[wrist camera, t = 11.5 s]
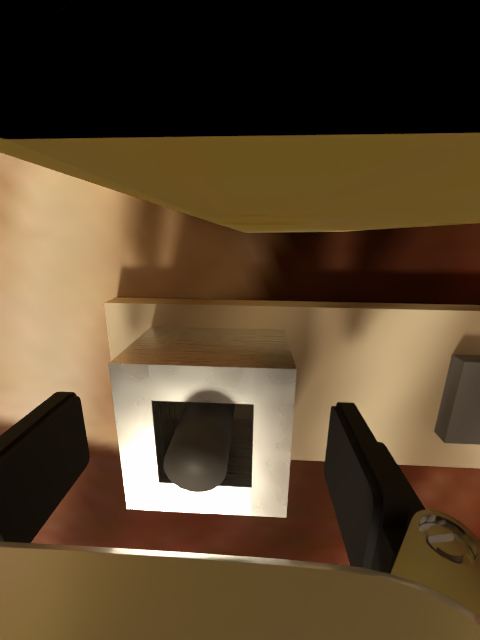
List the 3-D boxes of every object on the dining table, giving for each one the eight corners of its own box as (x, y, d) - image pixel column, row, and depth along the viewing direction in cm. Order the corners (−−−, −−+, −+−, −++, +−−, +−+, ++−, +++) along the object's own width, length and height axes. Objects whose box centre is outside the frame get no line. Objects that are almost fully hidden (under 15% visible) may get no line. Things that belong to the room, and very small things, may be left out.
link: (284, 329, 13) (296, 369, 9) (278, 443, 14) (286, 517, 11) (151, 326, 13) (108, 363, 9) (160, 438, 15) (127, 508, 11)
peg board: (546, 306, 13) (787, 364, 7) (500, 452, 15) (655, 589, 9) (116, 297, 14) (14, 341, 8) (131, 436, 16) (60, 551, 10)
